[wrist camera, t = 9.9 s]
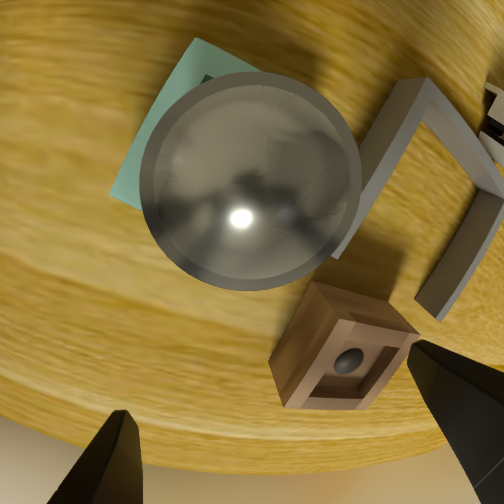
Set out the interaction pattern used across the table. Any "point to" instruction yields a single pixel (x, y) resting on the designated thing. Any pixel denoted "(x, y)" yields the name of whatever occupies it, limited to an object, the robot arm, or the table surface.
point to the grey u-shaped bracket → (469, 157)
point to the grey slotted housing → (500, 112)
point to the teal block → (179, 83)
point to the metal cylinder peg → (250, 181)
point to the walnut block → (339, 350)
